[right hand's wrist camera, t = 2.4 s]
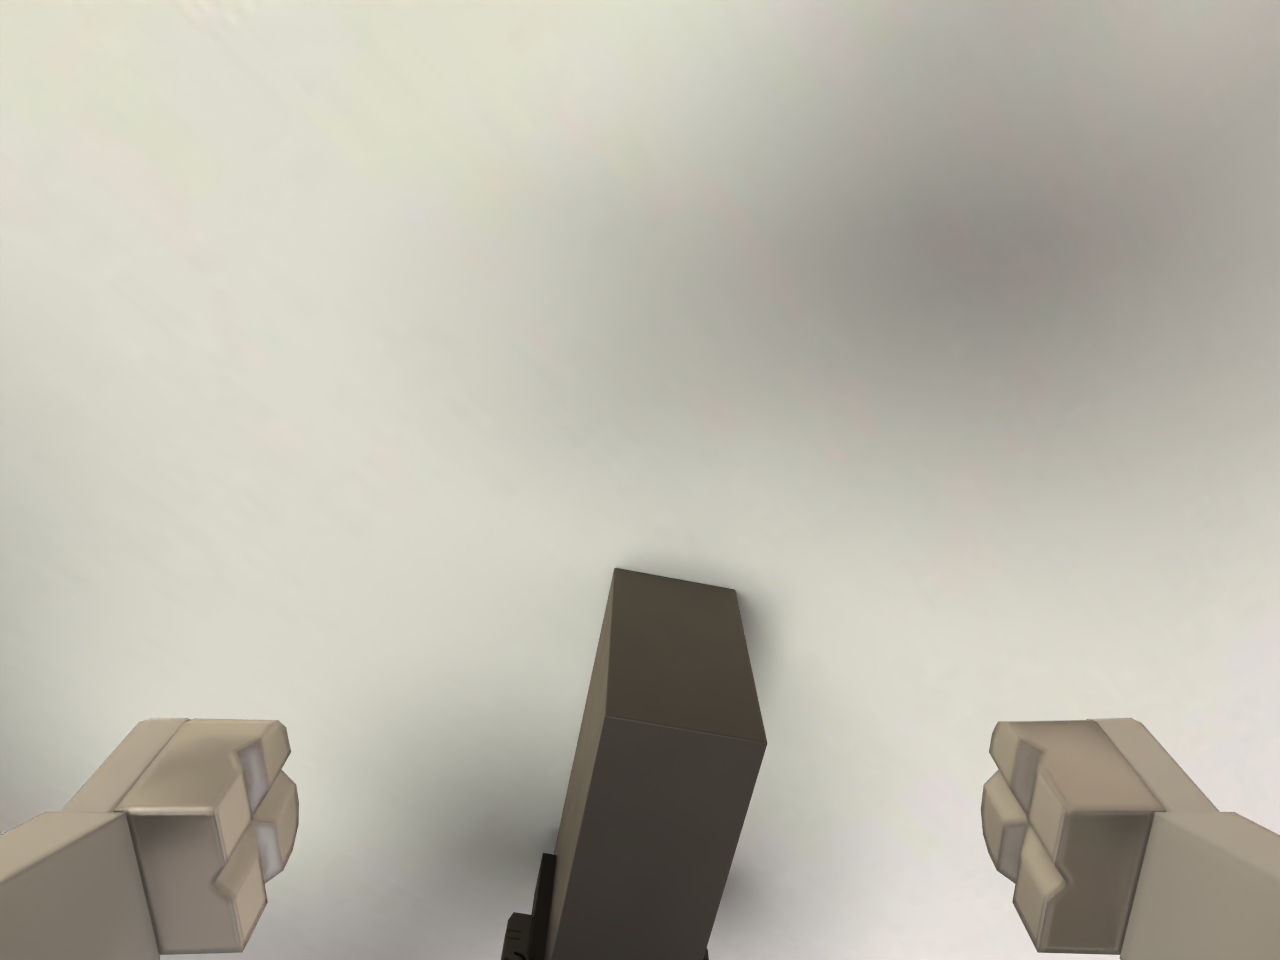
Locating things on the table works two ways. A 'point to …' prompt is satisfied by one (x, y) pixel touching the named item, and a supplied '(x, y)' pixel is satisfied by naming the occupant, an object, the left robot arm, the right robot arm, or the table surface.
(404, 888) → the table surface
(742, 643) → the box
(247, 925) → the right robot arm
